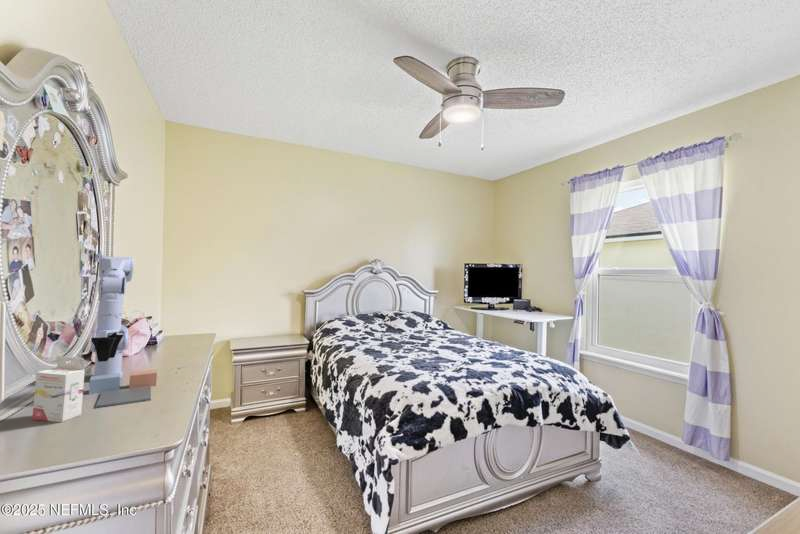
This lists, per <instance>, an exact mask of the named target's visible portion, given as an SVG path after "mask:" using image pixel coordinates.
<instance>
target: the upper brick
mask: <svg viewBox="0 0 800 534" xmlns="http://www.w3.org/2000/svg"><path fill="white" fill-rule="evenodd" d="M157 379H158V370H157V369H152V370H141V371H130V373H129V384H128V388H134V387H142V386H150V385H151V386H153V387H157Z"/></svg>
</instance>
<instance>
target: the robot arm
mask: <svg viewBox="0 0 800 534" xmlns="http://www.w3.org/2000/svg"><path fill="white" fill-rule="evenodd" d="M134 263H135V259H134V257H132V256H131V257H127V256H126V257H125V256H107V255H106V256H104V255H101V256H100V257H99V261H98V272H99V273H98V275H99V276H98V277H99V280H98V285H97V293H98V301H99V302H98V309H97V310H98V311H97V322H96V323H97V325H96V328H95V329H94V330H93V331H92V336H91V339H90V340H91V341H90V351H91V352H92V353H94V355H95V359H94V369H93V370H94V371H93V376H100V375H109V374H119V373H120V380H122V378H123V374H124V371H122V368H123V367H122V366H123V365H122V364H123V352H124V351H126V350H127V349H128V347H129V346H128V345H129V329H128V327H127V326H125V325H124V324H122V318H123V307H124V305H123V303H124V295H125V294H126V289H127V283H128V282H131V281H132V279H133V273H134V266H135V265H134Z"/></svg>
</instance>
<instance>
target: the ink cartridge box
mask: <svg viewBox="0 0 800 534" xmlns="http://www.w3.org/2000/svg"><path fill="white" fill-rule="evenodd" d="M70 361H71V362H74V363H67V362H70ZM85 370H86V369H85V359H84V358H83V357H76V356H75V357H74V356H62V355H61V356H60V355H57V356H56V367H54V368H50V369H49V368H48V369H45V370H41V371H36V373H35V385H34V397H33V407H32V408H33V409H32V418H31V419H32V420H36V421H44V422H45V421H46V422H53V423H54V422H55V423H63V422H67V421H69V420H71V419H74V418H76V417H79V416H82V409H83V397H84V385H85V383H84V382H85Z"/></svg>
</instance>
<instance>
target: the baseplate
mask: <svg viewBox="0 0 800 534" xmlns="http://www.w3.org/2000/svg"><path fill="white" fill-rule="evenodd" d="M151 388H152V387H151V385H150V386H142V387H134V388H129V387H128V388H119V389H118V390H110V391H102V392H101V393H99V394H100V395H99V397H98V400H97V402H96V404H95V408H96V409H99V408H101V409H102V408H105V407H106V408H107V407H113V406H119V405H120V406H121V405H127V404H128V403H129V404H134V403H133V402H136V403H140V402H139V401H142V402H147V401H146V400H149V401H152V399H151V398H152V395H151V394H152V393H151V391H152V389H151Z"/></svg>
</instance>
